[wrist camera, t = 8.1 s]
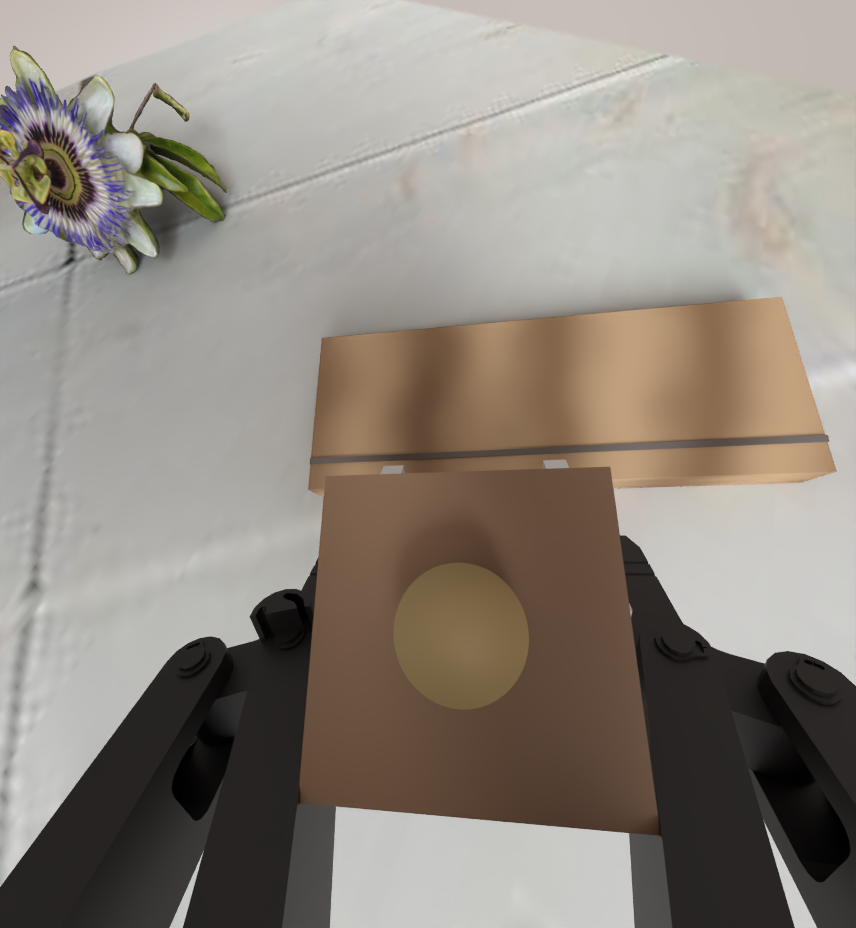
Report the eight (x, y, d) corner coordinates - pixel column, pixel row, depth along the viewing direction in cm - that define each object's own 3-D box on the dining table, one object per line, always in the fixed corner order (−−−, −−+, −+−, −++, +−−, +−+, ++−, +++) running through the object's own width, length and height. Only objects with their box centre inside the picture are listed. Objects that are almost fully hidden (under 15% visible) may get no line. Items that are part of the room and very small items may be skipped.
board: (323, 497, 22) (307, 488, 20) (334, 356, 24) (321, 337, 22) (800, 482, 19) (838, 471, 17) (755, 322, 21) (783, 295, 19)
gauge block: (419, 659, 16) (259, 847, 5) (420, 538, 18) (301, 459, 6) (543, 663, 15) (701, 895, 4) (533, 537, 17) (631, 447, 6)
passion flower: (189, 311, 34) (-16, 255, 25) (186, 200, 36) (-11, 108, 27) (242, 246, 27) (-21, 134, 18) (236, 108, 28) (-13, -61, 19)
